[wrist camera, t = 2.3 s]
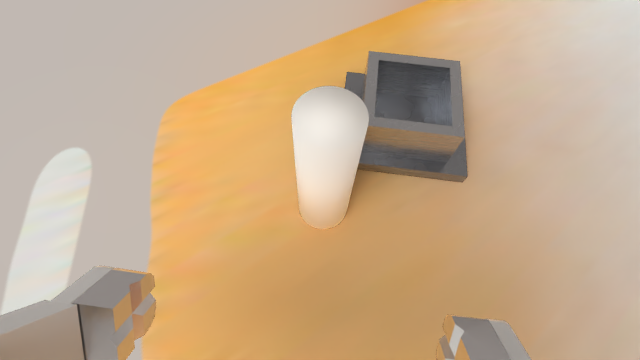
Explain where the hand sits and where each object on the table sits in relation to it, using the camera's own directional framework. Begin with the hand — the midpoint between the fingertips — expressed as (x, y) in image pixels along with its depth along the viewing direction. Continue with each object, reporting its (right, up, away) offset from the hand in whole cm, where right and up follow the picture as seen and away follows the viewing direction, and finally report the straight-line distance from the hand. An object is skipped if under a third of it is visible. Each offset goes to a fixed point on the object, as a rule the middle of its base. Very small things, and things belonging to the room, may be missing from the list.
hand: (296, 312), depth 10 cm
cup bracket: (+7, +8, +20) cm, 23 cm away
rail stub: (+1, +2, +16) cm, 16 cm away
